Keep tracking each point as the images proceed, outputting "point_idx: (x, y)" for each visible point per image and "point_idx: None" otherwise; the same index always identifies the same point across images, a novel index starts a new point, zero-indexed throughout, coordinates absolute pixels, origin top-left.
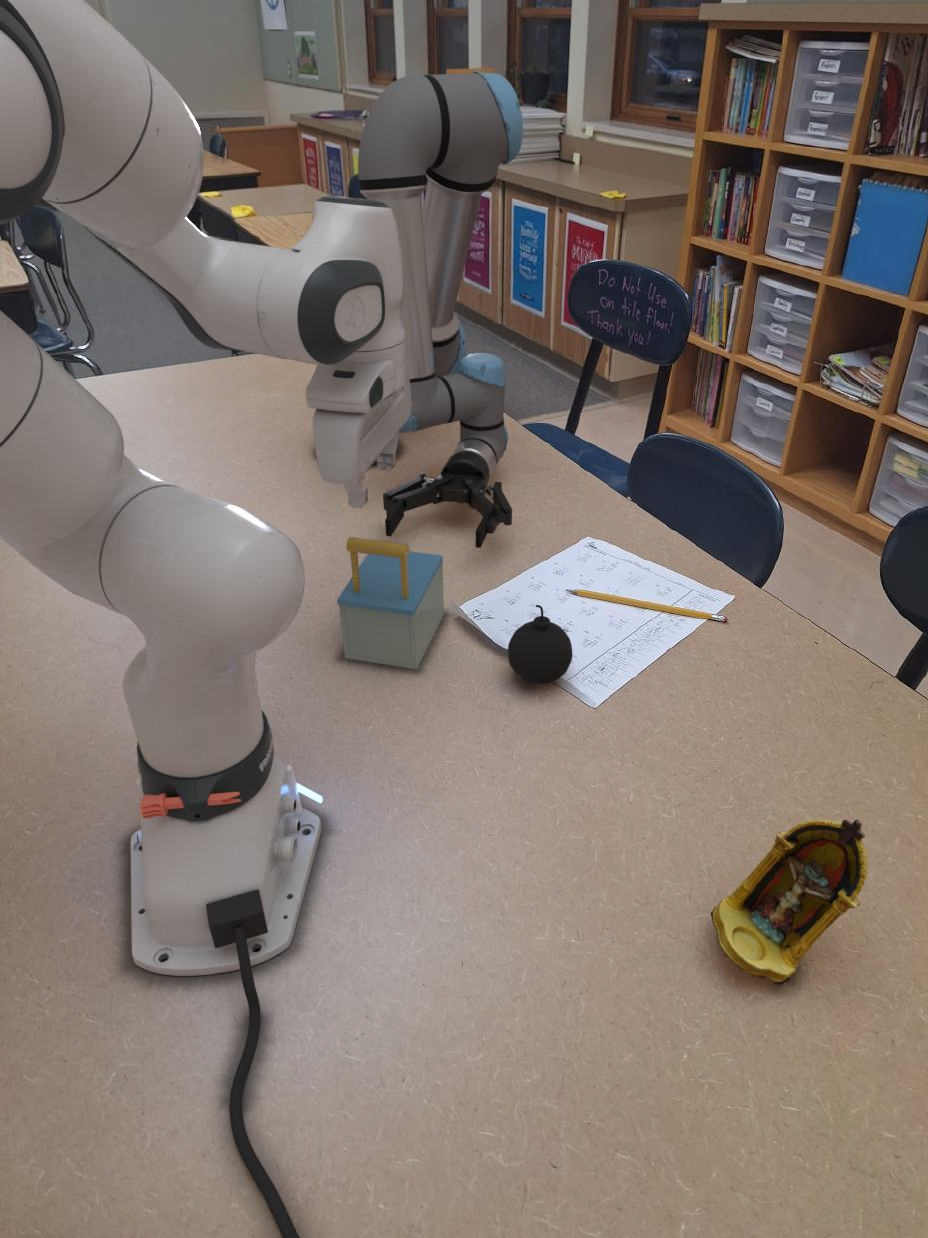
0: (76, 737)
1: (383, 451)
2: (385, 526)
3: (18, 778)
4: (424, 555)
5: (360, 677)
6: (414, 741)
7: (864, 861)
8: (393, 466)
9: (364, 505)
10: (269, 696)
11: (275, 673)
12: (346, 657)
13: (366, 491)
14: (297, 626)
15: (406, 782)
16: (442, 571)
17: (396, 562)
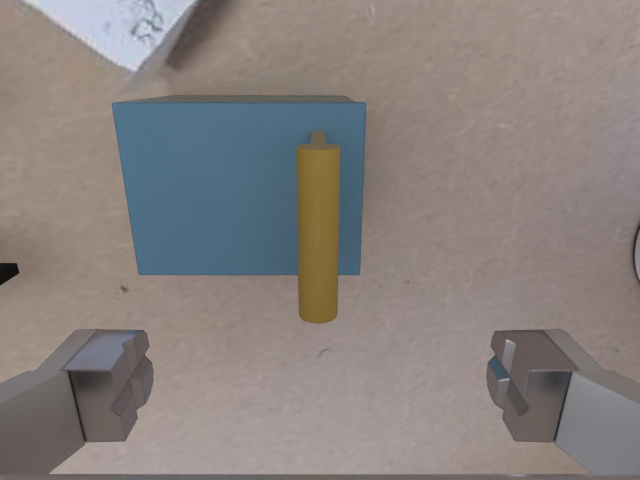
0: (555, 460)
1: (69, 430)
2: (3, 282)
3: None
4: (129, 148)
5: (385, 183)
6: (528, 42)
7: None
8: (107, 330)
9: (558, 330)
10: (452, 294)
11: (400, 306)
12: None
13: (543, 364)
14: (283, 320)
15: (623, 25)
16: (134, 100)
17: (184, 203)
